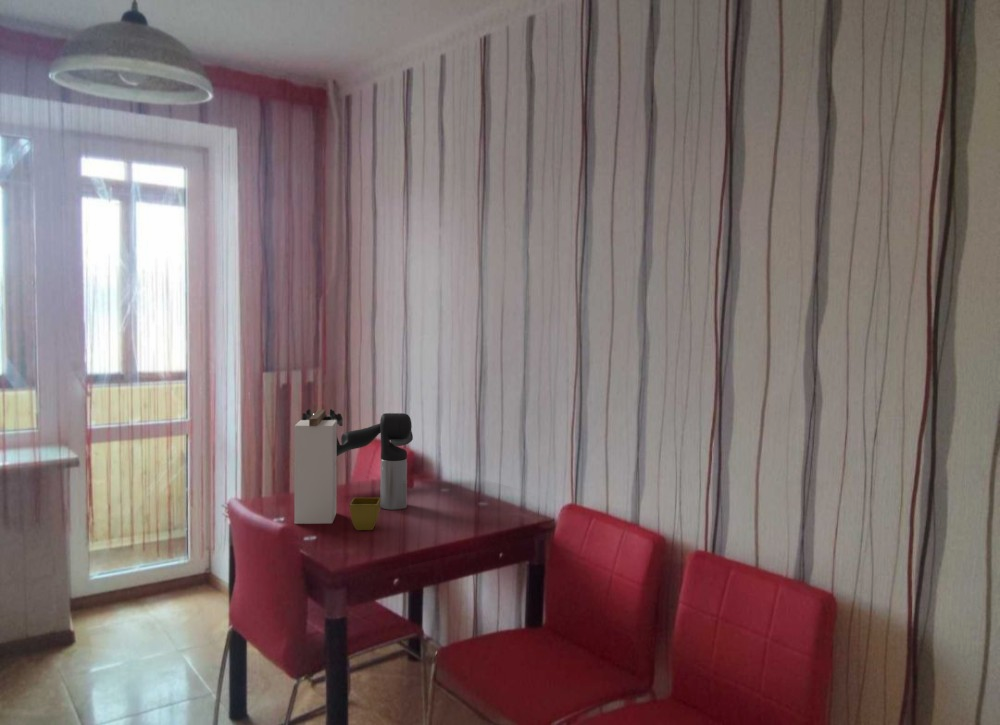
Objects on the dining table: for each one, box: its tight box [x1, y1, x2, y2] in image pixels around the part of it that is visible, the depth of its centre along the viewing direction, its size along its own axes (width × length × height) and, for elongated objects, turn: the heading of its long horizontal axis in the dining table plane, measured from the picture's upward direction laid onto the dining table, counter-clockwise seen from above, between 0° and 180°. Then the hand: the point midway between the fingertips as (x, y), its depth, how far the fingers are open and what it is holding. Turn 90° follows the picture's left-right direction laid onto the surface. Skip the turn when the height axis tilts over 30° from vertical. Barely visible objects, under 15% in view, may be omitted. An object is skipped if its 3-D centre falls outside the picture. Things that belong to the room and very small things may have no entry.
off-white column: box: [293, 419, 338, 525], centre depth 248 cm, size 12×12×32 cm
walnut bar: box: [309, 409, 327, 426], centre depth 251 cm, size 2×22×2 cm, turn 6°
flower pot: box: [349, 497, 381, 531], centre depth 239 cm, size 9×9×9 cm
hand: (319, 411), depth 255 cm, fingers open, 7 cm apart
